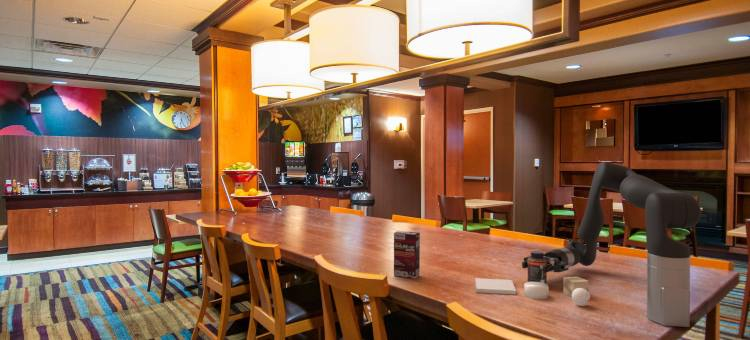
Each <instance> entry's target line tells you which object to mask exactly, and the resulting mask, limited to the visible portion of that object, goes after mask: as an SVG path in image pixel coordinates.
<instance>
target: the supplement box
mask: <svg viewBox="0 0 750 340" xmlns="http://www.w3.org/2000/svg"><path fill="white" fill-rule="evenodd" d="M420 233H421V232H419V231H418V232H417V231H405V230H404V231H403V230H397V231H395V232H393V276H394V277H399V276H402V278H407V277H411V278H410V279H414V278H415V279H417V278H418V277H419V276H420V268H421V267H420V262H421V261H420V256H421V255H420V253H421V252H420V251H421V249H420V248H421V245H420V244H421V241H420V240H421V234H420ZM416 277H417V278H416Z"/></svg>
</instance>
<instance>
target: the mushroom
mask: <svg viewBox="0 0 750 340" xmlns="http://www.w3.org/2000/svg"><path fill="white" fill-rule="evenodd" d="M590 299H591V294H590V293H589V290H588V291H587V290H585V289H583V288H577V289H575V290H574V291H573V292H572V297H571V300H572V301H573V302H574V303H575V304H576V305H577V306H578V307H586V306H587V305H588V301H590Z"/></svg>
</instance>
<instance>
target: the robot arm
mask: <svg viewBox="0 0 750 340" xmlns="http://www.w3.org/2000/svg"><path fill="white" fill-rule="evenodd" d="M591 181H592V182H591V185H590V189H589V194H588V197H587V199H588V200H587V203H586V208H585V210H584V215H583V217H582V219H581V222H580V225H579V228H578V231H577V236H578V237H579V239H581V240H582V241H583V242H584V243H585V244H584V243H583V242H580V241H578V240H570V241H569V242H567V245H566V246H565V247H559V248H558V247H557V248H555V249H551V250H547V251H545V253H544V256H543V257H544V258H545V259H546V261H547V265H544V266H543V272H544V273H547V274H548V273H550V272H551V273H563V272H567V271H569V269H570V268H571V267H574V266H576V265H578V264H581V265H582V266H584V267H589V266H591V265H593V264H594V262H595V260H596V259H597V253H598V252H597V251H598V250H597V247H598V239H599V236H600V234H601V231H602V229H603V227H604V222H605V216H604V210H603V208H602V203H601V202H602V201H601V194H602V190H603V189H606V190H611V191H613V192H619V193H620V196H621V197H622V199H623V200H624V201H626V202H627V203H629V204H630V205H631V206H633V207H635V208H638V209H641V210H644V214H645V215H644V216H645V240H646V247H647V249H646V250H647V257H646V260H647V261H646V318H648V320H650V321H652V322H654V323H657V324H659V325H661V326H664V327H665V326H669V327H670V326H671V327H683V328H690V327H691V326H690V322H691V319H690V318H691V317H690V315H691V313H690V312H691V280H690V279H691V246H690V245H689V244H687V243H685V242H682V241H679V240H676V239H673V238H672V237H670V236H669V235H668V231H667V229H677V230H678V229H679V230H680V229H681V230H682V229H684V230H685V229H689V228H692V227H694V226H696V225H697V224H698V223H699V221H700V220H701V217H702V210H701V206H700V204H699V202H698V201H697V199H696V198H695V197H694V196H692V194H689V193H687V192H682V191H679V190H675V189H673V188H669V187H667V186H666V185H663V184H662V183H659V182H658V181H654V179H651V178H648V177H646V176H644V175H643V174H642V175H641V174H637V173H636V172H635V171H633V169H631V168H629V167H628V166H626V165H622V164H617V163H612V162H608V161H602V162H600V163H599V164H598V165H597V167H596V168H595V171H594V174H593V177H592V180H591ZM530 257H531V255H528V256H526V257H523V261H522V263H521V267H522V269H528V258H530Z"/></svg>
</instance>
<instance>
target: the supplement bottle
mask: <svg viewBox="0 0 750 340" xmlns="http://www.w3.org/2000/svg"><path fill="white" fill-rule="evenodd" d="M544 254H545V253H544V252H543V251H540V250H531V251H530V256H531V257H530V258H528V268H527V282H541V283H545V284H547V278H548V277H547V276H548V272H547V273H544V272H543V266H544V265H547V261H546V259H545V258H544V257H543V256H544ZM547 285H548V284H547Z"/></svg>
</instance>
